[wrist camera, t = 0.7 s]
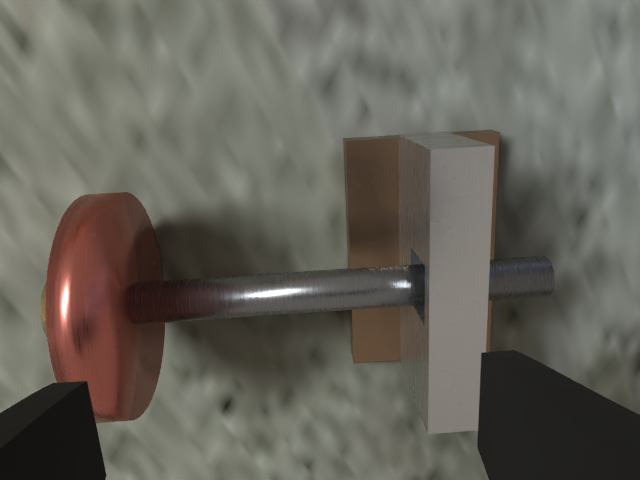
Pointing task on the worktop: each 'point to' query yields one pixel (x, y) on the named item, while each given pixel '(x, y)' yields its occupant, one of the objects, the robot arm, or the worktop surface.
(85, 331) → the red wheel with axle
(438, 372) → the eye bracket
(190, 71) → the worktop surface
